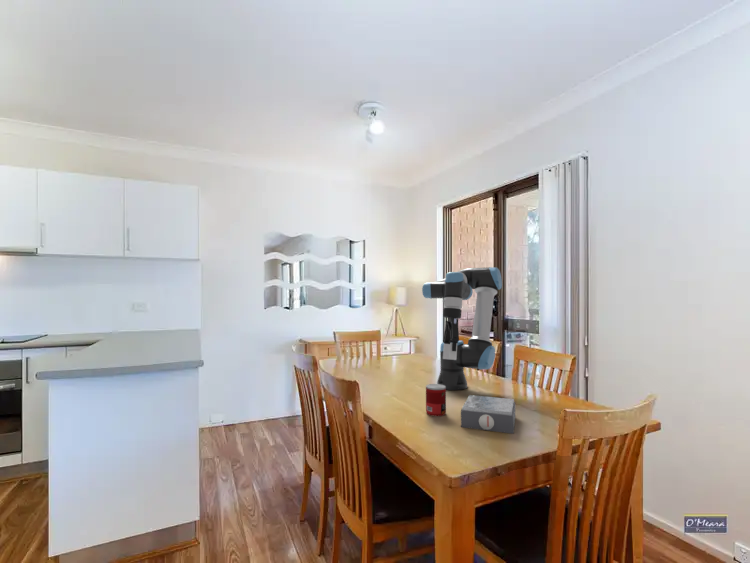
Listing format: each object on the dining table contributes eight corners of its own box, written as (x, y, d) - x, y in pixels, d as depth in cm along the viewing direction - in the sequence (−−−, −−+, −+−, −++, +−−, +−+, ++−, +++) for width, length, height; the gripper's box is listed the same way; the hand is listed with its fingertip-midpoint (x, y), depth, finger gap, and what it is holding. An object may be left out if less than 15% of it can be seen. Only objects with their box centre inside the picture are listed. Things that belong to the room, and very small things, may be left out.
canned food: (445, 417, 154) (445, 388, 154) (425, 415, 155) (425, 388, 156) (446, 411, 161) (446, 384, 161) (426, 409, 163) (426, 383, 163)
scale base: (468, 412, 159) (468, 397, 160) (515, 417, 153) (515, 402, 153) (460, 427, 142) (460, 411, 142) (513, 434, 135) (513, 417, 135)
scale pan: (469, 397, 159) (469, 394, 159) (513, 402, 153) (513, 399, 153) (462, 410, 143) (462, 406, 143) (511, 415, 137) (511, 412, 137)
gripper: (438, 310, 178) (435, 358, 174) (449, 304, 154) (446, 359, 150) (454, 312, 178) (452, 359, 174) (468, 305, 153) (465, 360, 150)
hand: (449, 359), depth 162 cm, fingers open, 13 cm apart
